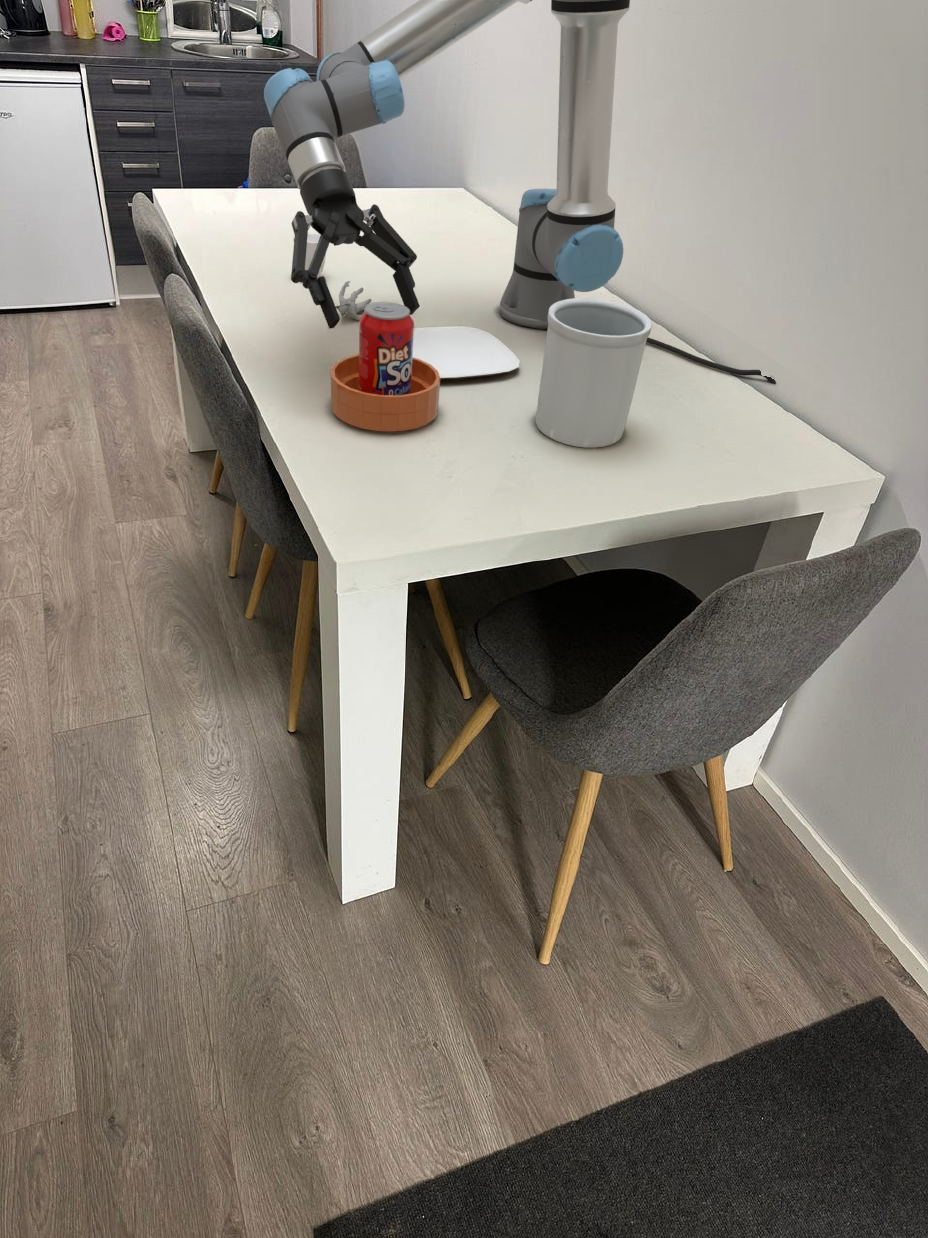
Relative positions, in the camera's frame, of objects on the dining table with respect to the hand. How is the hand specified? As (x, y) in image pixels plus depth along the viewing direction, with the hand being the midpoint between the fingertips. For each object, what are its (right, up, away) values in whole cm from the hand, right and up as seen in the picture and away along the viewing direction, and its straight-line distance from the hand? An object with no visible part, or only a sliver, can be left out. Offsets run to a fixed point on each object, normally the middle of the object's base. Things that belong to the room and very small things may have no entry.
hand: (375, 317), depth 127 cm
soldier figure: (-8, +14, +38) cm, 41 cm away
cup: (-19, +27, +53) cm, 62 cm away
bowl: (+1, -12, +6) cm, 14 cm away
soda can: (+1, -12, +6) cm, 13 cm away
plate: (+10, +1, +24) cm, 27 cm away
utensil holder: (+31, -15, +7) cm, 35 cm away
